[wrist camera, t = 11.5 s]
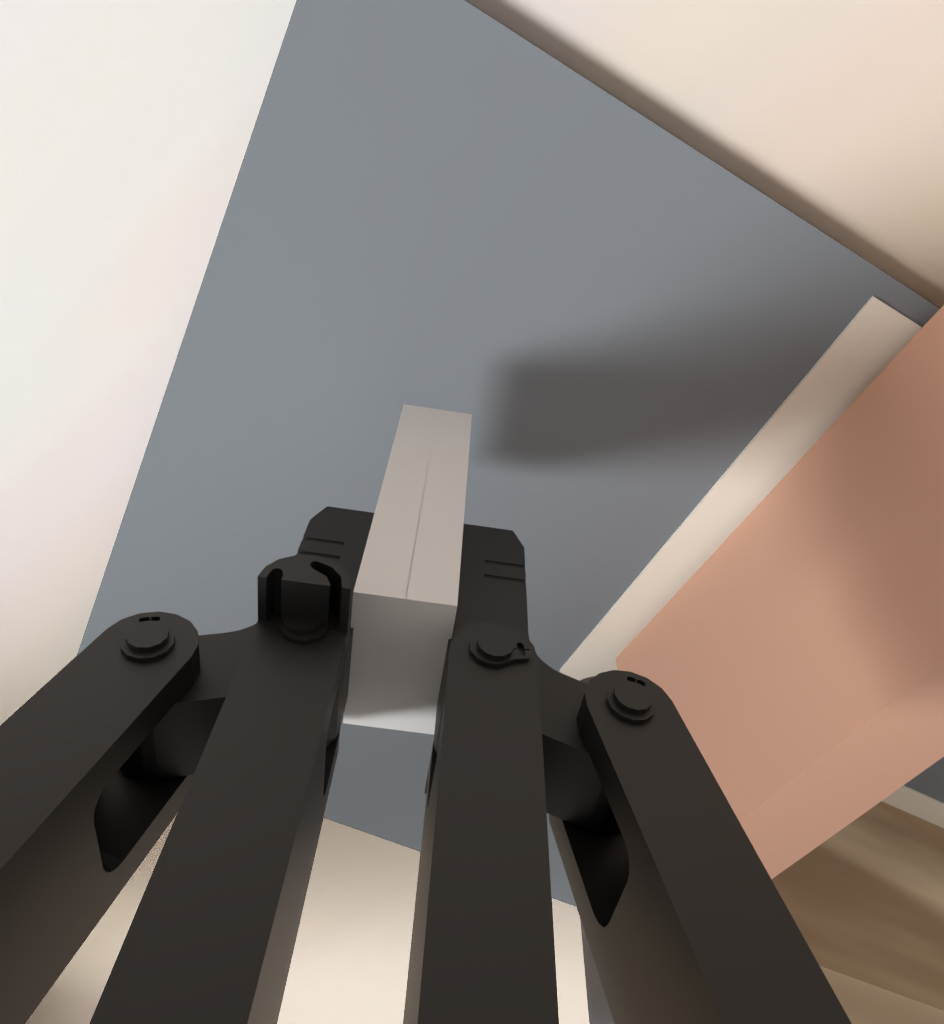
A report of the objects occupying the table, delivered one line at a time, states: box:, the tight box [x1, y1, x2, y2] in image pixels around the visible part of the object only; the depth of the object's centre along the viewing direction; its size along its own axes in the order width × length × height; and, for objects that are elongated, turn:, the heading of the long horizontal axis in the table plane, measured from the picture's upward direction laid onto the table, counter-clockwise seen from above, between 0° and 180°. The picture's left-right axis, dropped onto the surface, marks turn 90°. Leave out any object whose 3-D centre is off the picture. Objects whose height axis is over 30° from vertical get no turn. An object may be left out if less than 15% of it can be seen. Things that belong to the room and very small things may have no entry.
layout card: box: [77, 0, 944, 907], centre depth 22 cm, size 24×32×4 cm
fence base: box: [580, 676, 944, 1024], centre depth 21 cm, size 2×16×9 cm, turn 62°
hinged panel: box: [616, 305, 944, 879], centre depth 16 cm, size 2×13×7 cm, turn 150°
